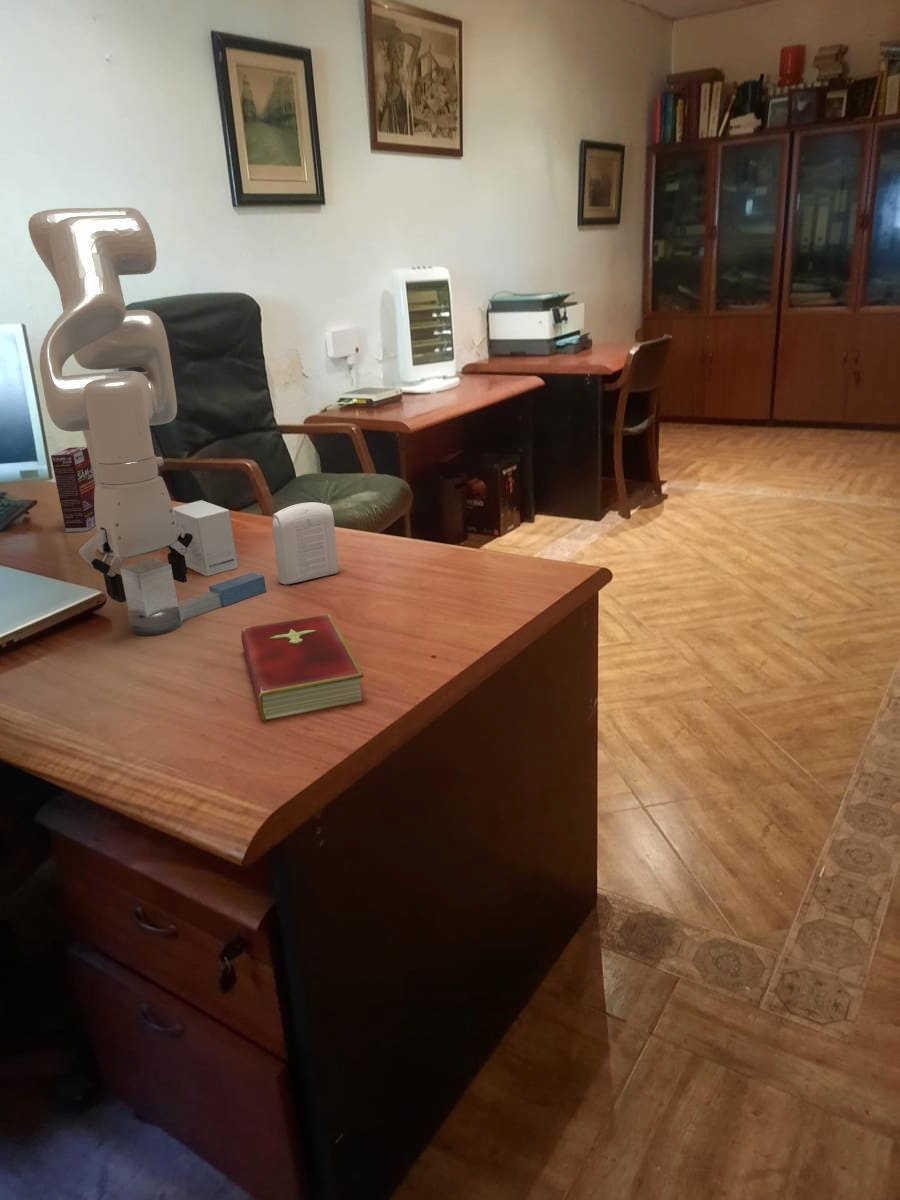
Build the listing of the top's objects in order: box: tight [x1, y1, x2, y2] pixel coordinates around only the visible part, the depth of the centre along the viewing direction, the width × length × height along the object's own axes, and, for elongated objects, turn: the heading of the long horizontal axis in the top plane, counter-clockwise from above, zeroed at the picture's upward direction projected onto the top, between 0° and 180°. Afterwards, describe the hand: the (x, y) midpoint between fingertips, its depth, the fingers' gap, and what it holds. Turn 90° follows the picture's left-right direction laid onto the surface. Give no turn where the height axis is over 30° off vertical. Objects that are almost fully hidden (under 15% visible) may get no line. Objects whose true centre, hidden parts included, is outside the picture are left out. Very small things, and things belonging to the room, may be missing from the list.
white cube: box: [119, 558, 178, 617], centre depth 126 cm, size 5×5×6 cm
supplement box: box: [50, 446, 96, 533], centre depth 181 cm, size 9×5×16 cm, turn 179°
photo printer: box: [271, 501, 339, 585], centre depth 143 cm, size 10×4×12 cm, turn 123°
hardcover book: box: [240, 612, 364, 723], centre depth 109 cm, size 12×21×4 cm, turn 18°
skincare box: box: [173, 499, 239, 577], centre depth 152 cm, size 10×6×10 cm, turn 41°
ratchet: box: [127, 572, 267, 637], centre depth 132 cm, size 7×22×7 cm, turn 139°
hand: (149, 590), depth 126 cm, fingers open, 9 cm apart
